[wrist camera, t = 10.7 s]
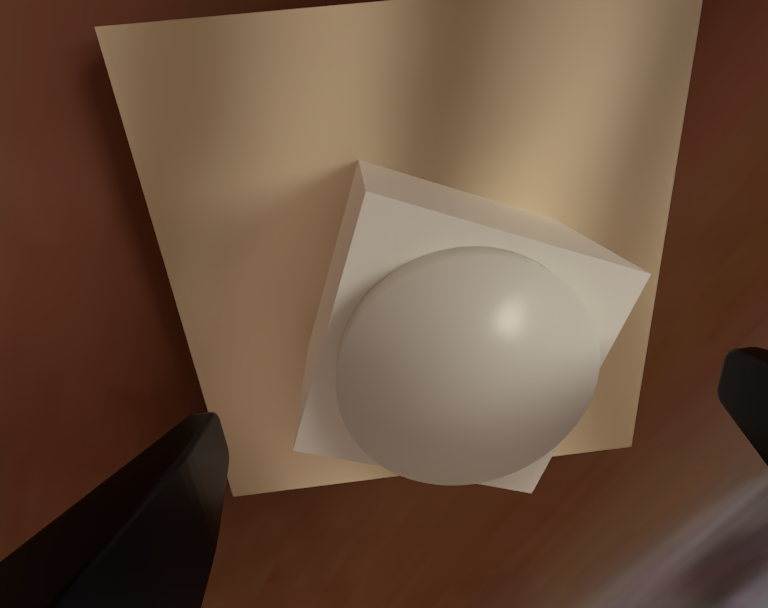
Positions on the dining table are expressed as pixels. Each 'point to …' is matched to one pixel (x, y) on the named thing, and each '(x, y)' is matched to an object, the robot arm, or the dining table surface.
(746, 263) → the dining table surface
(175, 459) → the robot arm
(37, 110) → the dining table surface
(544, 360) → the white domed square block
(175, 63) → the stud plate
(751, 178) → the dining table surface
